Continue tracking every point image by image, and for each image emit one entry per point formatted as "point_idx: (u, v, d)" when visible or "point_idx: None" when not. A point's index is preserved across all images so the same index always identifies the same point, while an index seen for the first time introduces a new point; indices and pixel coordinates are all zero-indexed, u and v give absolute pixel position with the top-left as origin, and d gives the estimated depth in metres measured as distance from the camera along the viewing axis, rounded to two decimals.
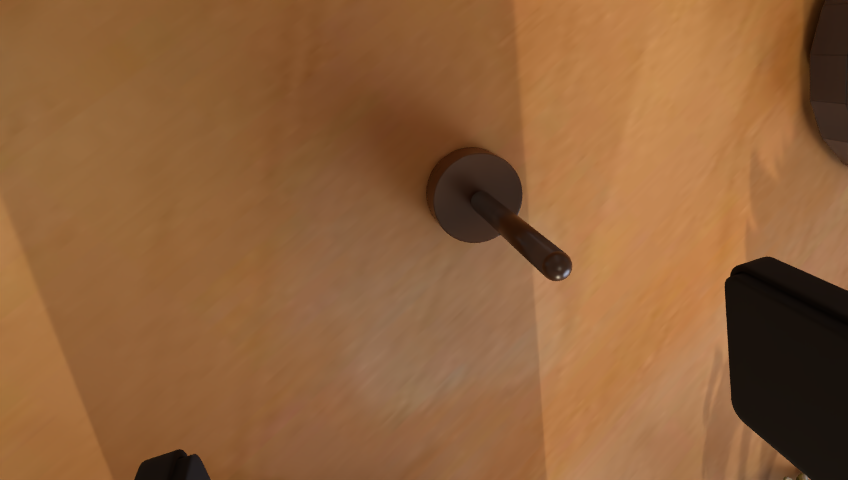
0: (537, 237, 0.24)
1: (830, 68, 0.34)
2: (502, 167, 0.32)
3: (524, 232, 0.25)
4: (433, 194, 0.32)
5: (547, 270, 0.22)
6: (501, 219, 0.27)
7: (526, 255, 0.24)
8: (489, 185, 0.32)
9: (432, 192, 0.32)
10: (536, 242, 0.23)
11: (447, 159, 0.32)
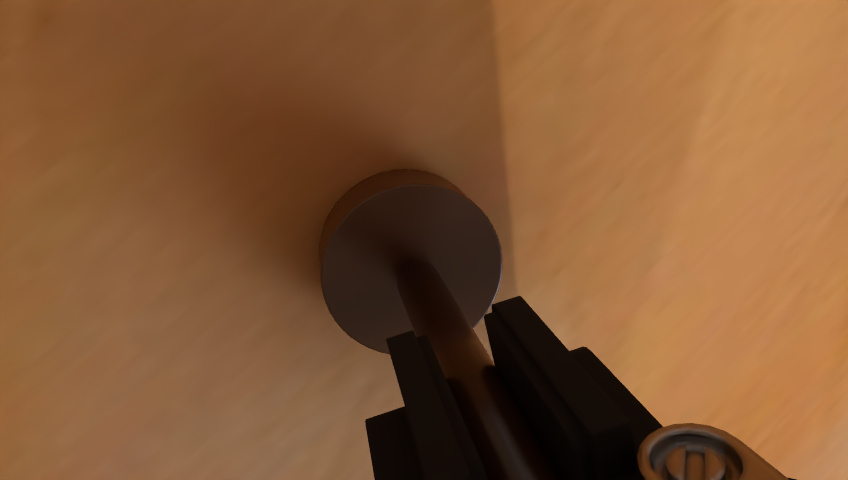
0: (526, 472, 0.08)
1: None
2: (460, 211, 0.16)
3: (489, 435, 0.09)
4: (321, 266, 0.16)
5: None
6: (440, 357, 0.11)
7: None
8: (435, 246, 0.16)
9: (321, 261, 0.16)
10: None
11: (353, 194, 0.16)
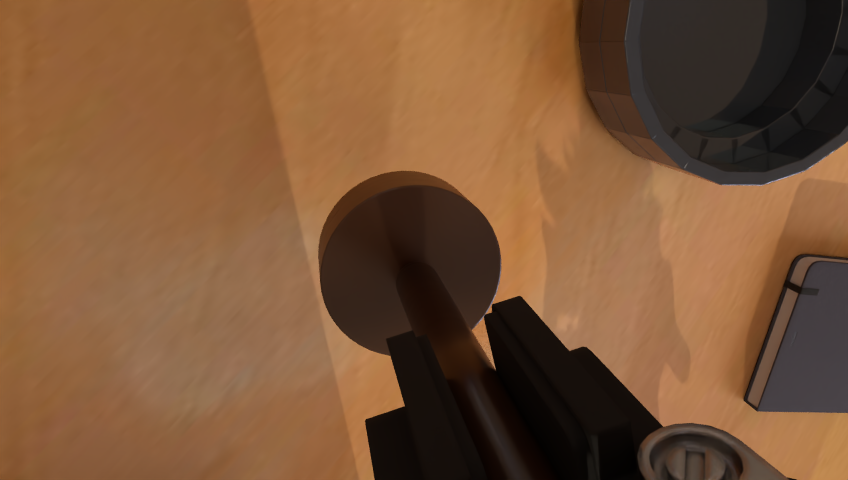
0: (524, 475, 0.08)
1: (592, 55, 0.33)
2: (459, 212, 0.16)
3: (487, 437, 0.09)
4: (320, 267, 0.16)
5: None
6: (439, 359, 0.11)
7: None
8: (434, 248, 0.16)
9: (320, 262, 0.16)
10: None
11: (352, 195, 0.16)
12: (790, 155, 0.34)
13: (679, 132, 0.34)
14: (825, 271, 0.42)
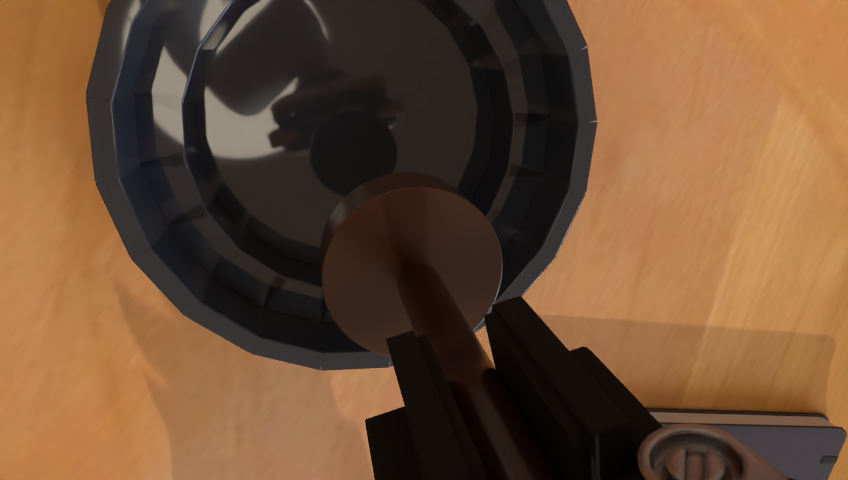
0: (527, 477, 0.08)
1: None
2: (461, 213, 0.16)
3: (490, 439, 0.09)
4: (322, 269, 0.16)
5: None
6: (441, 361, 0.11)
7: None
8: (435, 249, 0.16)
9: (321, 263, 0.16)
10: None
11: (354, 196, 0.16)
12: None
13: (285, 285, 0.24)
14: None
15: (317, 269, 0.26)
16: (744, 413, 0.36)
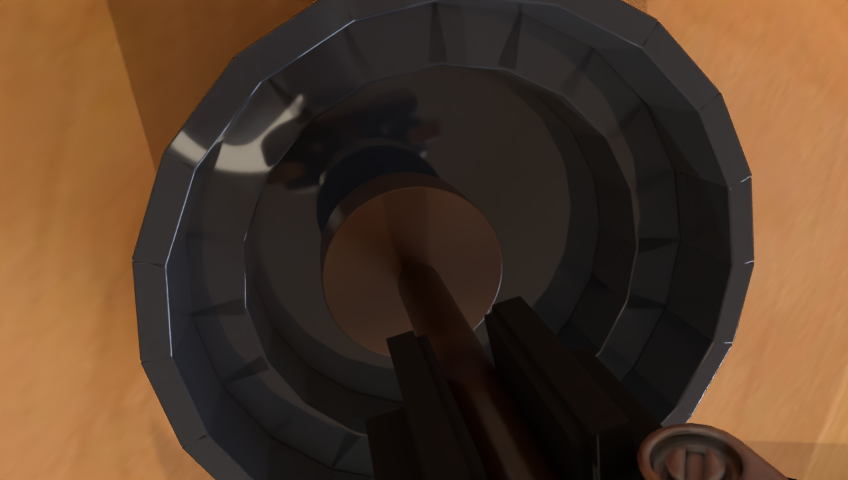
0: (527, 476, 0.08)
1: None
2: (461, 213, 0.16)
3: (490, 438, 0.09)
4: (322, 268, 0.16)
5: None
6: (441, 361, 0.11)
7: None
8: (435, 248, 0.16)
9: (321, 263, 0.16)
10: None
11: (354, 196, 0.16)
12: None
13: (357, 441, 0.20)
14: None
15: (389, 408, 0.22)
16: None
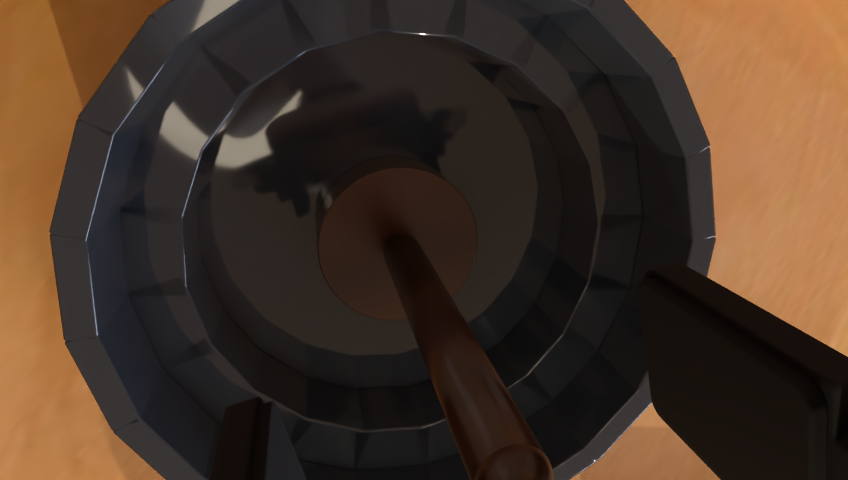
0: (474, 379, 0.10)
1: None
2: (439, 191, 0.18)
3: (448, 356, 0.11)
4: (318, 240, 0.18)
5: None
6: (415, 306, 0.13)
7: (448, 421, 0.10)
8: (418, 223, 0.18)
9: (317, 235, 0.18)
10: (469, 397, 0.10)
11: (346, 177, 0.19)
12: None
13: (310, 428, 0.19)
14: None
15: (348, 395, 0.21)
16: None
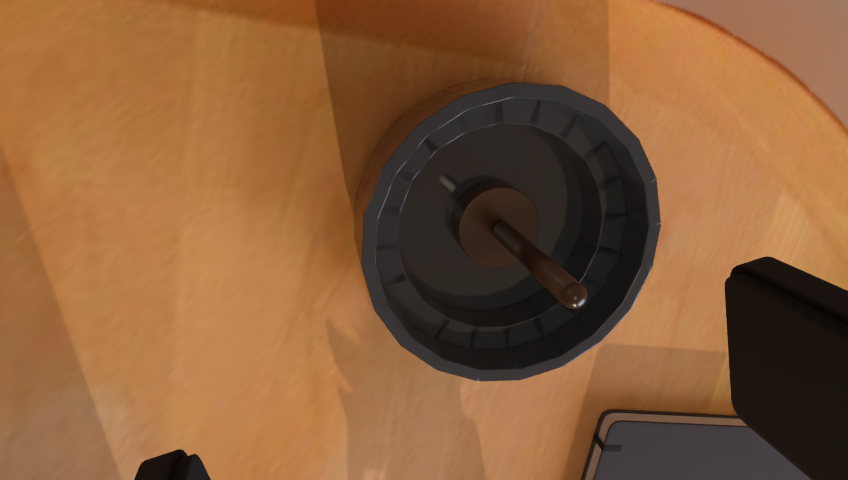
0: (556, 268, 0.27)
1: None
2: (521, 200, 0.35)
3: (543, 263, 0.28)
4: (458, 224, 0.35)
5: (565, 299, 0.25)
6: (522, 250, 0.30)
7: (546, 284, 0.27)
8: (509, 216, 0.35)
9: (457, 222, 0.35)
10: (555, 273, 0.27)
11: (471, 192, 0.36)
12: (554, 347, 0.36)
13: (449, 324, 0.36)
14: (626, 430, 0.44)
15: (462, 312, 0.38)
16: None
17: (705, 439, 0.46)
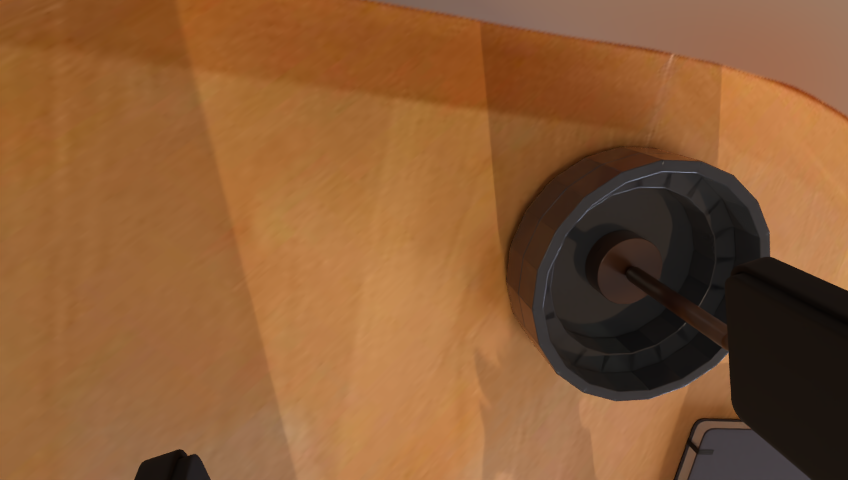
0: (709, 317, 0.34)
1: (514, 297, 0.41)
2: (649, 248, 0.42)
3: (695, 311, 0.34)
4: (597, 269, 0.42)
5: (727, 344, 0.32)
6: (667, 296, 0.37)
7: (702, 329, 0.34)
8: (639, 261, 0.42)
9: (595, 267, 0.42)
10: (711, 321, 0.33)
11: (605, 241, 0.42)
12: (674, 370, 0.43)
13: (586, 352, 0.43)
14: (718, 436, 0.51)
15: (591, 340, 0.45)
16: None
17: None
